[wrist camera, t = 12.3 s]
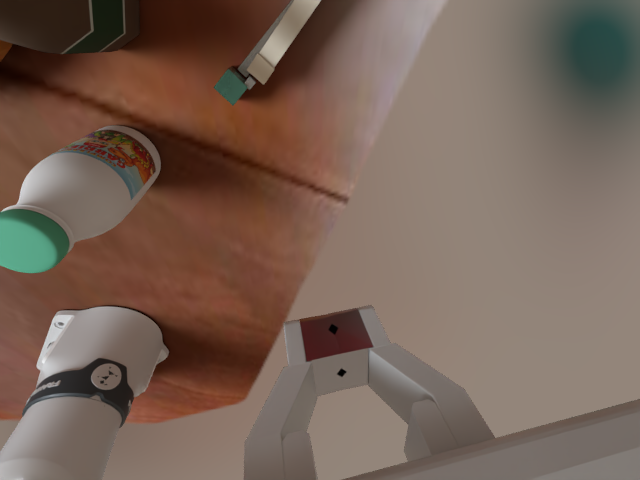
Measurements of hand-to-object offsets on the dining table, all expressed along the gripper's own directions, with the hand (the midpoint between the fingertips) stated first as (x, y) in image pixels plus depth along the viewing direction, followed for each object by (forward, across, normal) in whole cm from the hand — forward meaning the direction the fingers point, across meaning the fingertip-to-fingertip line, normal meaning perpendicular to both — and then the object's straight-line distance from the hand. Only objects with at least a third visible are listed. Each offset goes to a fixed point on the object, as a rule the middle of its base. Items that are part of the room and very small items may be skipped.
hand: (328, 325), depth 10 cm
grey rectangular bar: (+32, -3, -10) cm, 34 cm away
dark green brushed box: (+33, +4, -5) cm, 33 cm away
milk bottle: (+34, +18, +2) cm, 38 cm away
